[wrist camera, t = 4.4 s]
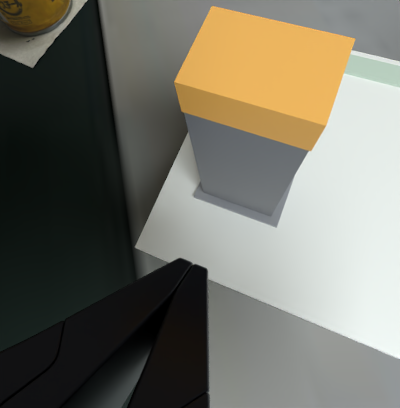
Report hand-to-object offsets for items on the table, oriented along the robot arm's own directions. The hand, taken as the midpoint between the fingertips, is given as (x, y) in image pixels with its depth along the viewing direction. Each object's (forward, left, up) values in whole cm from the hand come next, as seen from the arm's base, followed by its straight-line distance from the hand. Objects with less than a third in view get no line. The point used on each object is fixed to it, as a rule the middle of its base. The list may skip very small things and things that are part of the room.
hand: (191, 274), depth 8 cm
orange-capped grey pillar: (+3, +4, -6) cm, 8 cm away
